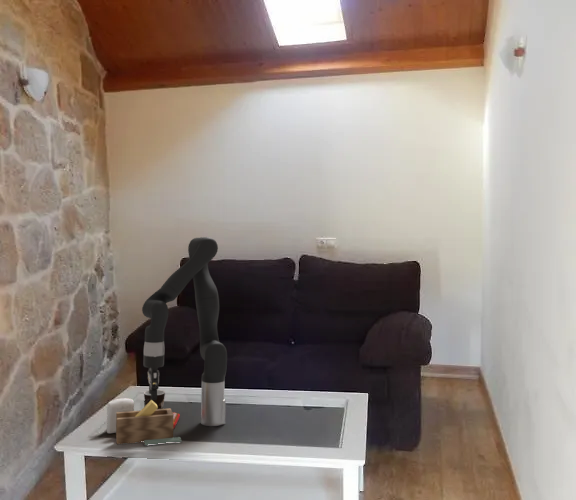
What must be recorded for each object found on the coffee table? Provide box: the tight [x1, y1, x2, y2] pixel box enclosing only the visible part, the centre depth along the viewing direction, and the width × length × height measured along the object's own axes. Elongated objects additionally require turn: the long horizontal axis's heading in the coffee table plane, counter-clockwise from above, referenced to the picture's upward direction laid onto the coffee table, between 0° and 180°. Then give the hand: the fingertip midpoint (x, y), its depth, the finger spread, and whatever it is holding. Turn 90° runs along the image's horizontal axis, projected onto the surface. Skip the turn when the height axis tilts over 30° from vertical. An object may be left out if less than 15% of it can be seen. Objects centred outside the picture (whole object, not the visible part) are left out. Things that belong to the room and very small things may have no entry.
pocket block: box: [115, 407, 174, 445], centre depth 212 cm, size 20×9×9 cm, turn 108°
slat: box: [135, 400, 158, 417], centre depth 212 cm, size 14×4×3 cm
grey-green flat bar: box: [143, 436, 183, 446], centre depth 208 cm, size 13×4×1 cm, turn 108°
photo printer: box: [106, 397, 135, 434], centre depth 219 cm, size 10×4×12 cm, turn 123°
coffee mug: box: [143, 389, 166, 409], centre depth 237 cm, size 12×9×10 cm
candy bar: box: [172, 411, 181, 430], centre depth 229 cm, size 16×4×3 cm, turn 2°
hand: (152, 396), depth 213 cm, fingers open, 8 cm apart
